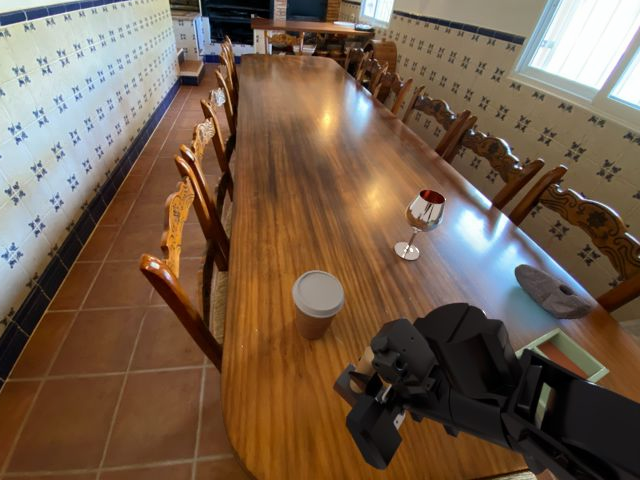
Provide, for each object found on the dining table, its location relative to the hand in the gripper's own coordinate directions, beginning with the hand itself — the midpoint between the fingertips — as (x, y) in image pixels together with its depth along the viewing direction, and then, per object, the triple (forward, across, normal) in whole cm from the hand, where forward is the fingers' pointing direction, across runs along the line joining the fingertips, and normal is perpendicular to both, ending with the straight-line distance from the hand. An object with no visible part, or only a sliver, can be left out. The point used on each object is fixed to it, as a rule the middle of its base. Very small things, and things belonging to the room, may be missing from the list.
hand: (355, 367), depth 44 cm
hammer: (+4, 0, +6) cm, 7 cm away
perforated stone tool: (-6, -50, +22) cm, 55 cm away
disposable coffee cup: (+16, -6, -1) cm, 17 cm away
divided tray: (-10, -30, +25) cm, 40 cm away
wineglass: (+14, -40, +2) cm, 43 cm away
